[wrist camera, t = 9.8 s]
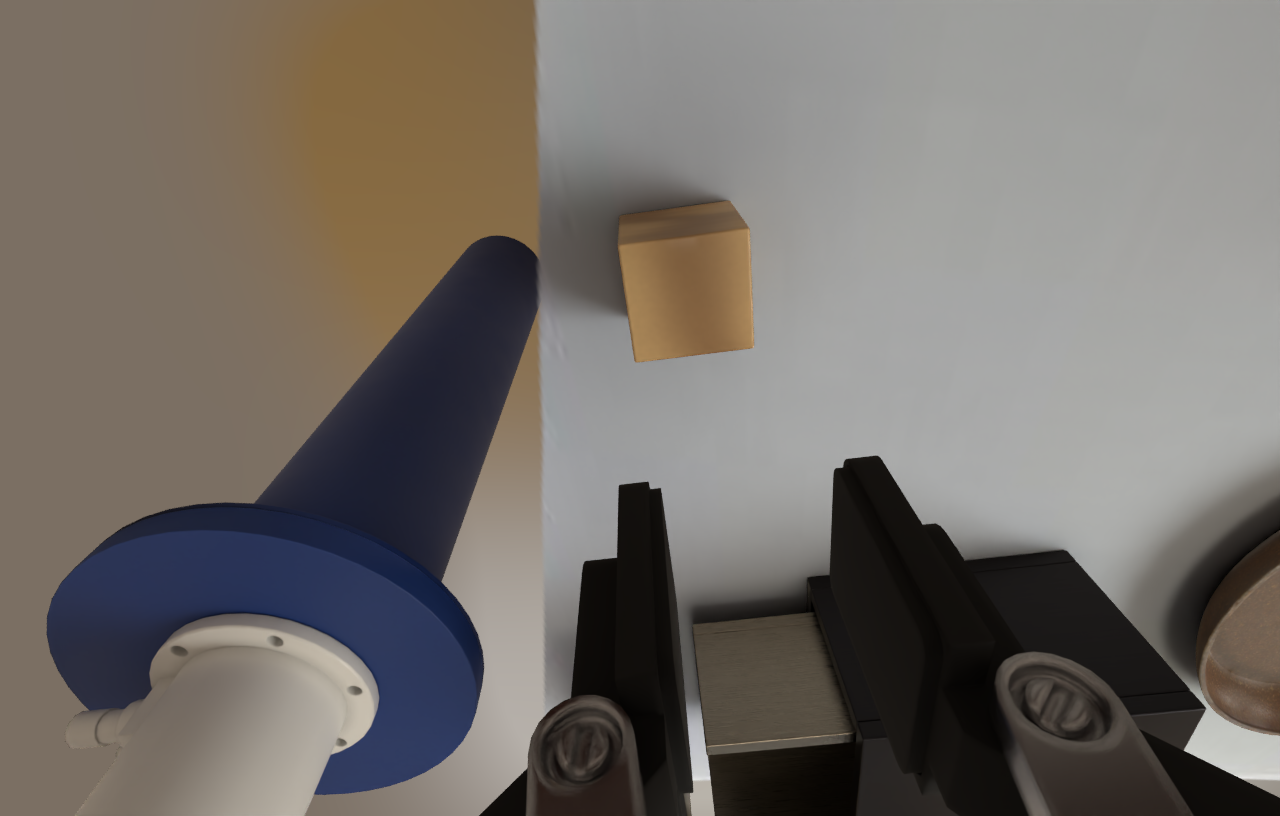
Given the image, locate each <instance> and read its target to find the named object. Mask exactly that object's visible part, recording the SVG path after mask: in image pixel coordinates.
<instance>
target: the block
mask: <svg viewBox="0 0 1280 816" xmlns="http://www.w3.org/2000/svg"><path fill="white" fill-rule="evenodd" d="M618 253H619V259H620V266H621V273H622V280H623V286H624V293H625V300H626V307H627V313H628V320H629V327H630V334H631V340H632V347H633V354H634V361H635V362H645V361H653V360H661V359H669V358H677V357H685V356H693V355H701V354H709V353H717V352H725V351H733V350H742V349H750V348H753V347H754V328H753V302H752V275H751V249H750V229H749V227H748V226H747V224H746V223H745V221H744V220H743V218H742V217H741V216H740V214H739V213H738V211H737V210H736V209H735V207H734V206H733V204H732V203H731V202H730V201H722V202H715V203H707V204H700V205H693V206H685V207H678V208H671V209H663V210H656V211H649V212H642V213H634V214H627V215H621V216H620V217H619V231H618Z"/></svg>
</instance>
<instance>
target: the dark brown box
mask: <svg viewBox="0 0 1280 816" xmlns="http://www.w3.org/2000/svg"><path fill="white" fill-rule="evenodd" d="M965 562H966V563H967V565H968V566H969V568H970V569H971V571H972V572H973V574H974V575H975V577H976V578H977V580H978V581H979V583H980V584H981V586H982V587H983V589H984V590H985V592H986V593H987V595H988V596H989V598H990V599H991V601H992V602H993V604H994V605H995V607H996V608H997V610H998V611H999V613H1000V614H1001V616H1002V617H1003V619H1004V620H1005V622H1006V623H1007V625H1008V626H1009V628H1010V629H1011V631H1012V632H1013V634H1014V635H1015V637H1016V638H1017V640H1018V641H1019V643H1020V644H1021V646H1022V647H1023V649H1024V650H1025V652H1026V653H1027V652H1041V653H1050V654H1054V655H1057V656H1060V657H1063V658H1067V659H1070V660H1072V661H1074V662H1076V663H1078V664H1080V665H1081V666H1083V667H1085V668H1087V669H1089V670H1091V671H1092V672H1093V673H1094V674H1096V675H1097V676H1098V677H1099V678H1101V679H1102V680H1103V681H1104V682H1106V683H1107V684H1108V685H1109V686H1110V688H1111V689H1112V690H1113V691H1114V693H1115V694H1116V695H1117V696H1118V697H1119V699H1120V700H1121V701H1122V703H1123V705H1124V706H1125V708H1126V709H1127V711H1128V712H1129V714H1130V716H1131V717H1132V719H1133V720H1134V722H1135V724H1136V725H1137V727H1138V728H1139V729H1141V730H1143V731H1145V732H1147V733H1149V734H1151V735H1153V736H1155V737H1157V738H1159V739H1161V740H1163V741H1165V742H1167V743H1169V744H1171V745H1173V746H1175V747H1177V748H1179V749H1181V750H1183V751H1184V749H1185V747H1186V745H1187V743H1188V741H1189V740H1190V738H1191V736H1192V734H1193V732H1194V730H1195V729H1196V727H1197V725H1198V723H1199V721H1200V720H1201V718H1202V716H1203V714H1204V712H1205V710H1206V707H1205V706H1204V705H1203V704H1202V703H1201V702H1200V700H1199V699H1198V698H1197V697H1196V696H1195V695H1194V694H1193V693H1192V692H1191V691H1190V689H1189V688H1188V687H1187V685H1186V684H1185V683H1184V682H1183V681H1182V680H1181V679H1180V678H1179V676H1178V675H1177V674H1176V673H1175V672H1174V671H1173V670H1172V669H1171V667H1170V666H1169V665H1168V664H1167V663H1166V662H1165V661H1164V660H1163V658H1162V657H1161V656H1160V655H1159V654H1158V653H1157V652H1156V651H1155V649H1154V648H1153V647H1152V646H1151V645H1150V644H1149V643H1148V642H1147V640H1146V639H1145V638H1144V637H1143V636H1142V635H1141V634H1140V633H1139V631H1138V630H1137V629H1136V628H1135V627H1134V626H1133V625H1132V624H1131V622H1130V621H1129V620H1128V619H1127V618H1126V617H1125V616H1124V615H1123V613H1122V612H1121V611H1120V610H1119V609H1118V608H1117V607H1116V606H1115V604H1114V603H1113V602H1112V601H1111V600H1110V599H1109V598H1108V597H1107V595H1106V594H1105V593H1104V592H1103V591H1102V590H1101V589H1100V588H1099V586H1098V585H1097V584H1096V583H1095V582H1094V581H1093V580H1092V579H1091V577H1090V576H1089V575H1088V574H1087V573H1086V572H1085V571H1084V570H1083V568H1082V567H1081V566H1080V565H1079V564H1078V563H1077V562H1076V561H1075V559H1074V558H1073V557H1072V556H1071V555H1070V554H1069V553H1068V552H1067V551H1057V552H1047V553H1038V554H1028V555H1019V556H1009V557H1000V558H990V559H981V560H971V561H965ZM808 612H815V613H816V615H817V618H818V621H819V624H820V627H821V630H822V633H823V636H824V639H825V642H826V645H827V648H828V651H829V654H830V657H831V660H832V663H833V666H834V669H835V672H836V675H837V678H838V681H839V684H840V687H841V689H842V692H843V695H844V698H845V701H846V704H847V707H848V710H849V713H850V716H851V719H852V722H853V725H854V728H855V731H856V732H857V734H856V746H855V758H854V770H853V782H852V794H851V806H850V816H959V815H957V814H956V813H954V812H953V811H952V810H950V809H949V808H947V807H946V804H945V802H944V800H943V797H942V795H941V794H937V795H926V796H922V794H921V792H920V789H919V787H918V784H917V782H916V779H915V777H914V774H913V773H910V774H904V773H903V772H902V771H901V769H900V768H899V765H898V763H897V761H896V758H895V755H894V753H893V750H892V748H891V745H890V742H889V740H888V737H887V734H886V732H885V729H884V727H883V724H882V721H881V719H880V716H879V713H878V711H877V708H876V706H875V703H874V700H873V698H872V695H871V692H870V690H869V687H868V685H867V682H866V679H865V677H864V674H863V671H862V669H861V666H860V664H859V661H858V658H857V656H856V653H855V650H854V648H853V645H852V642H851V640H850V637H849V635H848V632H847V629H846V627H845V624H844V621H843V619H842V616H841V614H840V611H839V608H838V606H837V603H836V600H835V598H834V595H833V592H832V588H831V583H830V575H829V576H819V577H810V578H808V579H807V613H808Z"/></svg>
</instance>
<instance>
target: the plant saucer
mask: <svg viewBox="0 0 1280 816" xmlns="http://www.w3.org/2000/svg"><path fill="white" fill-rule="evenodd" d="M1196 668H1197V674H1198V679H1199V683H1200V686H1201V690H1202V693H1203V695H1204V697H1205V699H1206V701H1207V702H1208V704H1209V705H1210V706H1211V708H1212V709H1213V710H1214V711H1215V712H1216V713H1218V714H1219V715H1220V716H1222V717H1223V718H1224V719H1226V720H1227V721H1229V722H1231V723H1233V724H1235V725H1238V726H1240V727H1242V728H1245V729H1248V730H1251V731H1255V732H1259V733H1263V734H1269V735H1279V736H1280V530H1279V531H1278V532H1276V533H1275V534H1273V535H1272V536H1270V537H1269V538H1268V539H1266V540H1265V541H1264V542H1262V543H1261V544H1259V545H1258V546H1257V547H1256V548H1255V549H1253V550H1252V551H1251V552H1250V553H1248V554H1247V555H1246V556H1245V557H1244V558H1243V559H1242V560H1241V561H1240V562H1239V563H1238V564H1237V565H1236V566H1234V567H1233V569H1232V570H1231V571H1230V572H1229V573H1228V574H1227V575H1226V577H1225V578H1224V579H1223V580H1222V582H1221V583H1220V584H1219V586H1218V587H1217V589H1216V590H1215V592H1214V593H1213V595H1212V597H1211V598H1210V600H1209V602H1208V604H1207V607H1206V609H1205V611H1204V614H1203V617H1202V619H1201V622H1200V626H1199V630H1198V636H1197V641H1196Z"/></svg>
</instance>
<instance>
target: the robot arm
mask: <svg viewBox="0 0 1280 816" xmlns="http://www.w3.org/2000/svg"><path fill="white" fill-rule="evenodd" d="M830 583H831V588H832V592H833V595H834V598H835V600H836V603H837V606H838V608H839V611H840V614H841V616H842V619H843V621H844V624H845V627H846V629H847V632H848V635H849V637H850V640H851V642H852V645H853V648H854V650H855V653H856V656H857V658H858V661H859V664H860V666H861V669H862V671H863V674H864V677H865V679H866V682H867V685H868V687H869V690H870V692H871V695H872V698H873V700H874V703H875V706H876V708H877V711H878V713H879V716H880V719H881V721H882V724H883V727H884V729H885V732H886V734H887V737H888V740H889V742H890V745H891V748H892V750H893V753H894V755H895V758H896V761H897V763H898V765H899V768H900V769H901V771H902V772H903V773H904V774H910V773H913V774H914V777H915V779H916V782H917V784H918V787H919V789H920V792H921V794H922V796H926V795H937V794H941V795H942V797H943V800H944V802H945V804H946V807H947V808H949V809H950V810H952V811H953V812H954V813H956V814H957V815H959V816H1280V798H1279V797H1277V796H1275V795H1273V794H1271V793H1269V792H1267V791H1265V790H1263V789H1260V788H1258V787H1257V786H1254V785H1252V784H1250V783H1248V782H1246V781H1244V780H1242V779H1240V778H1238V777H1236V776H1234V775H1232V774H1230V773H1228V772H1226V771H1224V770H1222V769H1220V768H1218V767H1216V766H1214V765H1212V764H1210V763H1208V762H1206V761H1204V760H1202V759H1200V758H1197V757H1195V756H1193V755H1191V754H1189V753H1187V752H1185V751H1183V750H1181V749H1179V748H1177V747H1175V746H1173V745H1171V744H1169V743H1167V742H1165V741H1163V740H1161V739H1159V738H1157V737H1155V736H1153V735H1151V734H1149V733H1147V732H1145V731H1143V730H1141V729H1139V728H1138V727H1137V725H1136V724H1135V722H1134V720H1133V719H1132V717H1131V716H1130V714H1129V712H1128V711H1127V709H1126V708H1125V706H1124V705H1123V703H1122V701H1121V700H1120V699H1119V697H1118V696H1117V695H1116V694H1115V693H1114V691H1113V690H1112V689H1111V688H1110V686H1109V685H1108V684H1107V683H1106V682H1104V681H1103V680H1102V679H1101V678H1099V677H1098V676H1097V675H1096V674H1094V673H1093V672H1092V671H1091V670H1089V669H1087V668H1085V667H1083V666H1081V665H1080V664H1078V663H1076V662H1074V661H1072V660H1070V659H1067V658H1063V657H1060V656H1057V655H1054V654H1050V653H1041V652H1027V653H1026V652H1025V650H1024V649H1023V647H1022V646H1021V644H1020V643H1019V641H1018V640H1017V638H1016V637H1015V635H1014V634H1013V632H1012V631H1011V629H1010V628H1009V626H1008V625H1007V623H1006V622H1005V620H1004V619H1003V617H1002V616H1001V614H1000V613H999V611H998V610H997V608H996V607H995V605H994V604H993V602H992V601H991V599H990V598H989V596H988V595H987V593H986V592H985V590H984V589H983V587H982V586H981V584H980V583H979V581H978V580H977V578H976V577H975V575H974V574H973V572H972V571H971V569H970V568H969V566H968V565H967V563H966V562H965V560H964V559H963V557H962V556H961V554H960V553H959V551H958V550H957V548H956V547H955V545H954V544H953V542H952V541H951V539H950V538H949V536H948V535H947V533H946V532H945V531H944V530H943V529H942V527H941V526H939V525H937V524H926V525H922V523H921V522H920V520H919V518H918V517H917V515H916V514H915V512H914V510H913V509H912V507H911V506H910V504H909V502H908V501H907V499H906V498H905V496H904V495H903V493H902V491H901V490H900V488H899V487H898V485H897V483H896V482H895V480H894V479H893V477H892V475H891V474H890V472H889V471H888V469H887V467H886V466H885V464H884V463H883V461H882V460H881V458H880V457H879V456H869V457H861V458H852V459H846V460H845V462H844V465H843V468H836V469H835V470H834V478H833V503H832V529H831V555H830ZM149 674H150V681H151V687H152V690H151V691H150V693H149V694H148V695H147V697H146V698H145V699H142V700H137V701H135V702H133V703H130V704H129V705H128V706H127V707H126V708H125V709H119V708H110V709H100V710H90V711H83V712H81V713H79V714H77V715H75V716H74V718H73V719H72V720H71V721H70V722H69V724H68V726H67V729H66V731H65V742H66V743H67V745H68V746H69V747H71V748H75V749H80V748H91V747H101V746H107V745H110V744H112V743H118V744H119V745H120V746H119V748H118V750H117V752H116V759H115V761H114V762H113V763H112V765H111V766H110V768H109V769H108V770H107V772H106V773H105V774H104V776H103V777H102V779H101V780H100V781H99V783H98V784H97V785H96V787H95V788H94V790H93V791H92V792H91V794H90V795H89V797H88V798H87V799H86V801H85V802H84V803H83V805H82V806H81V808H80V809H79V810H78V812H77V813H76V814H75V816H305V814H306V811H307V809H308V806H309V804H310V802H311V800H312V797H313V795H314V793H315V790H316V788H317V785H318V783H319V781H320V778H321V776H322V774H323V771H324V769H325V767H326V764H327V762H328V760H329V757H330V755H331V754H334V753H338V752H340V751H342V750H344V749H346V748H348V747H350V746H352V745H354V744H355V743H356V742H358V741H359V740H360V739H361V738H363V737H364V735H365V734H366V733H367V731H368V730H369V729H370V727H371V725H372V722H373V720H374V717H375V715H376V712H377V710H378V704H379V692H378V686H377V684H376V681H375V679H374V677H373V675H372V673H371V671H370V670H369V669H368V668H367V666H366V665H365V664H364V662H363V661H362V660H361V659H360V658H359V657H358V656H357V655H356V654H355V653H354V652H352V651H351V650H350V649H349V648H348V647H347V646H345V645H343V644H342V643H340V642H339V641H337V640H336V639H334V638H333V637H331V636H329V635H327V634H325V633H323V632H321V631H319V630H317V629H315V628H313V627H310V626H307V625H304V624H301V623H298V622H295V621H292V620H288V619H284V618H279V617H274V616H270V615H260V614H249V613H239V614H221V615H216V616H211V617H205V618H202V619H199V620H196V621H194V622H191V623H188V624H186V625H185V626H183V627H181V628H180V629H178V630H177V631H175V632H174V633H173V634H172V635H171V636H170V637H169V638H168V639H167V641H166V642H165V643H164V644H163V645H162V647H161V648H160V649H159V650H158V652H157V654H156V655H155V657H154V658H153V660H152V663H151V668H150V672H149ZM683 793H693V781H692V769H691V758H690V747H689V736H688V724H687V713H686V702H685V690H684V679H683V668H682V657H681V645H680V634H679V623H678V612H677V602H676V593H675V586H674V579H673V572H672V565H671V557H670V550H669V543H668V536H667V529H666V521H665V514H664V507H663V500H662V493H661V488H658V489H650V487H649V482H641V483H632V484H623V485H619V498H618V544H617V558H611V559H601V560H592V561H585V562H584V564H583V570H582V580H581V591H580V602H579V614H578V625H577V636H576V647H575V659H574V670H573V681H572V692H571V699H568V700H565V701H563V702H561V703H560V704H558V705H557V706H555V707H554V708H552V709H551V710H550V711H549V712H548V713H547V714H546V715H545V716H544V717H543V719H542V720H541V721H540V722H539V723H538V725H537V727H536V729H535V731H534V733H533V735H532V737H531V742H530V747H529V752H528V768H527V769H526V770H525V771H524V772H523V773H522V774H521V775H520V776H519V777H518V778H517V779H516V780H515V781H514V782H513V783H512V784H511V785H510V786H509V787H508V788H507V789H506V790H505V791H504V792H503V793H502V794H501V795H500V796H499V797H498V798H497V799H496V800H495V801H494V802H493V803H492V804H491V805H489V807H488V808H487V809H485V810H484V811H483V812H482V813H481V814H480V815H479V816H682V809H681V795H680V794H683Z"/></svg>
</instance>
